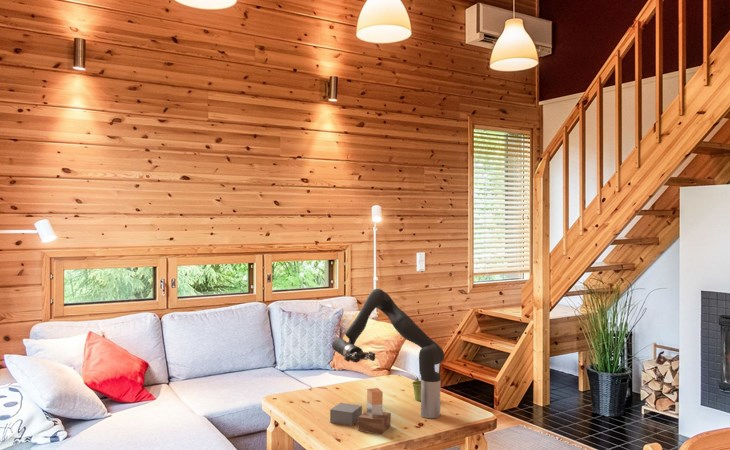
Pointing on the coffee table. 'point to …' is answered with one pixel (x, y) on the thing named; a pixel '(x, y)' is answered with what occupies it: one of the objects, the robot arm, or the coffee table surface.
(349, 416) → the stand
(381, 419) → the stand
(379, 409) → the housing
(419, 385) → the plant pot
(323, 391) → the coffee table surface
